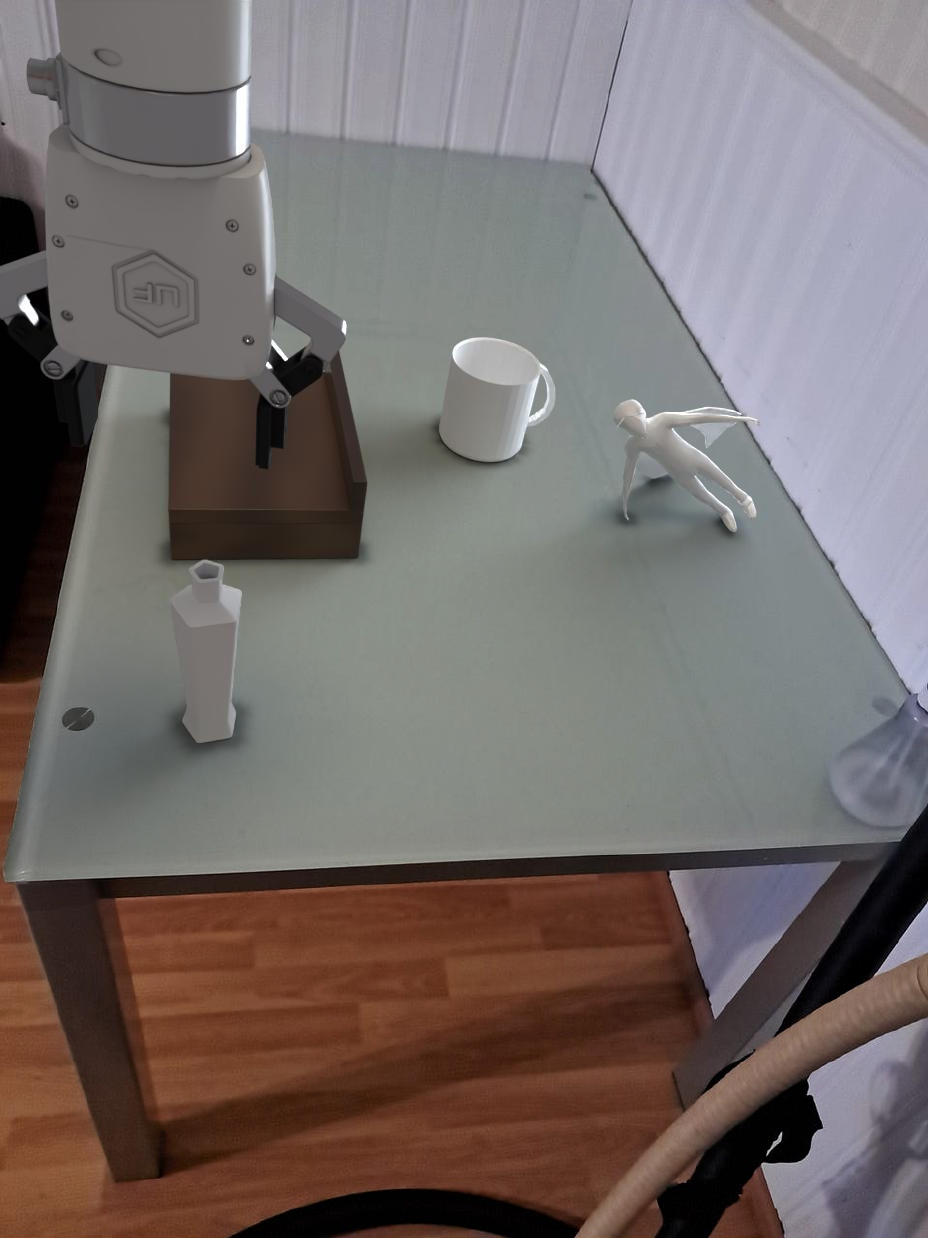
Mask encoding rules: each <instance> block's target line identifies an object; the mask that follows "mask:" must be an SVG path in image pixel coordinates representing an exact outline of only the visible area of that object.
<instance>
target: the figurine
mask: <svg viewBox="0 0 928 1238" xmlns="http://www.w3.org/2000/svg"><path fill="white" fill-rule="evenodd" d="M612 421H613V422H614V424H615V425H616V428H615V430H614V432H613V433H612V435H611V436H610V438H609V439H608V441H610V440H611V439H612V438H613V436H614V434H615V433H616V431H617V430H618V428H621V429H623V430H625V431H626V432H627V433H629V434H630V435H629V436H628V438H627V439H626V441H625V445H624V454H625V462H624V469H623V475H622V510H623V516H624V518H625V519H626V520H627V521H630V519H629V515H628V514H627V511H628V510H627V506H628V499H629V496H630V494H631V489H632V486H633V482H634V479H635V472H636V470H638V471H639V472H640V473H641V474H643V475H644V476H645V477H647V478H649V479H652V480H656V479H659V478H662V477H664V476H667V475H669V477H670V478H671V479H672V480H673V481H674V482H675V483H677V484H678V485H679V486H680V487H682V488H683V489H685V490H686V491H687V492H688V493H689V494H691V496H693V497H694V498H695V499H696V500H698V501H700V502H701V503H704V504H705V505H707V506H709V507H710V508H711V509H712V510H714V511H715V512H716V513H717V514H718V516H719V517H720V518H721V519H722V522H723V524H724V525H725V527H726V528H727V529H728V530H729V531H730V532H732V533H735V532H737V530H738V529H737V522H736V518H735V517H734V513H733V511H732V510H731V508H729V507H728V506H726V505H725V504H724V503H723V502H721V501H720V500H718V498H717V497H716V496H715V495H713V493H711V492H710V491H709V490H707V488H706V487H705V486H704V484H703V483H702V482H701V481H700V479H699V478H698V477H697V475H699V476H701V477H702V478H705V479H706V480H708V481H710V482H711V483H713V484H715V485H716V486H717V487H719V488H720V489H722V490H723V491H725V492H727V493H728V494H729V495H730V496H732V497H733V498H734V499H735V500H736V502H738V503H739V505H740V507H741V508H742V510H743V512H744V513H745V514H746V515H747V517H748V519H750V520H755V519H756V517H757V509H756V507H755V504H754V501H753V498H752V497H751V496H750V495H748V494H747V492H745V491H743V490H742V489H741V488H739V487H738V486H737V485H736V484H735V483H734V482H733V481H732V480H731V478H730V477H728V475H726V474H725V473H724V472H723V471H722V470H721V469H720V468H719V467H718V466H717V464H715V462H714V461H712V460H711V459H710V458H709V457H708V456H707V455H706V454H705V453H704V452H702V451H700V450H699V449H698V448H696V447H695V446H693V445H692V444H690V443H689V442H687V441H686V440H685V439H684V438H682V437H681V435H679V434H678V433H677V432H676V430H675V428H676V429H677V428H683V427H689V426H690V427H693V428H694V429H696V430H698V431H699V432H700V433H701V434H702V435H704V444H705V448H706V449H707V448H708V447H710V446H711V445H712V444H713V443H714V442H715V441H717V439H718V438H719V437H720V436H721V435H722V434H723V433H724V432H725V431H726V430H728V429H729V428H731V427H733V426H737V424H738V423H739V422H744V423H751V424H755V425H757V426H760V427H761V424H760V420H758V419H757V418H755V417H750V416H742V412H738V411H737V410H733V409H728V408H723V407H714V406H713V407H712V406H704V407H701V408H696V409H691V410H686V411H681V412H678V411H677V412H674V411H673V412H671V411H664V412H659V413H657V414H655V415H653V416H651V417H647V413H646V410H645V409H644V408H643V406H642V405H641V403H640V402H639V401H637V400H636V399H629V400H625V401H622V402H620V403H619V404H618V406H617V407H616V408H615V411H613V414H612ZM696 474H697V475H696Z"/></svg>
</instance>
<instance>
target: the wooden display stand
mask: <svg viewBox="0 0 928 1238" xmlns="http://www.w3.org/2000/svg"><path fill="white" fill-rule="evenodd" d="M342 361H343V360H342V357H341V352H340V350H339V351H338V352H337V354H336V355H335V357H334V358H333V359H332V361H331V362H330V363H329V364H328V365H327V366H326V368H325V369H324V371H323V374H322V376H321V377H320V378H319V379H318V380H317V381H315V382H314V383H312V384H311V385H310V386H308V387H307V388H305V389H304V390H302V391H301V392H299V393H298V394H297V395H295V396H294V397H292V398H291V400H290V403H289V405H288V409H287V429H286V440H285V446H284V449H279V448H273V450H272V455H271V460H270V465H269V469H260V468H259V466H256V465H255V460H256V413H257V405H258V400H259V396H260V392H259V390H258V389H257V388H256V387H255V386H254V385H253V383H252V382H251V381H250V380H249V379H246V380H223V379H214V378H205V377H197V376H189V375H181V374H174V373H169V417H168V418H169V421H168V422H169V424H168V427H169V429H168V432H169V433H168V502H167V503H168V505H167V507H168V523H169V524H168V526H169V527H168V528H169V545H170V546H169V547H170V559H171V560H248V559H249V560H255V559H256V560H265V559H266V560H267V559H268V560H269V559H273V560H274V559H276V560H277V559H278V560H279V559H283V560H284V559H358V558H359V556H360V555H359V554H360V547H361V537H362V532H363V531H362V530H363V522H364V514H365V507H366V498H367V490H368V478H367V473H366V472H367V471H366V469H365V463H364V459H363V454H362V450H361V445H360V442H359V436H358V431H357V427H356V422H355V418H354V412H353V408H352V404H351V399H350V395H349V389H348V385H347V381H346V376H345V372H344V367H343V362H342Z"/></svg>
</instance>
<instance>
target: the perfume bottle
mask: <svg viewBox="0 0 928 1238" xmlns="http://www.w3.org/2000/svg"><path fill="white" fill-rule="evenodd" d="M224 571H225V566H224V565H223V564H221V563H218V562H215V561H212V560H210V559H201V560H200V561H199V562H197V563H195V564H194V565H192V566H191V567H190V568H188V572H189V574H190V576H191V577H190V578H191V583H190V584H188V585H187V586H186V587H184V588H183V589H181V590H180V591H179V592H177V593H176V594H174V595H173V596H171V597H170V598H169V606H170V612H171V618H172V625H173V631H174V637H175V643H176V649H177V656H178V661H179V662H178V663H179V667H180V673H181V679H182V686H183V693H184V697H185V704H186V709H185V712H184V715H183V717H182V720H181V722H182V724H183V725H184V728H186V730H187V731H188V733H189V734H190V735H191V737H192V738H193V740H194V741H195V742H196V743H197V744H204V743H208V742H215V741H221V740H227V739H231V738H232V737H233V735H234V730H235V729H234V728H235V723H236V716H237V711H236V708H235V705H234V704H233V702H232V699H233V689H234V679H235V668H236V658H237V647H238V639H239V638H238V637H239V627H240V626H239V625H240V618H241V617H240V616H241V608H242V607H241V606H242V597H243V591H242V590H241V589H239V588H236V587H233V586H230V585H227V584H224V583H223V576H224Z"/></svg>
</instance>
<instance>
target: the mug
mask: <svg viewBox="0 0 928 1238" xmlns="http://www.w3.org/2000/svg"><path fill="white" fill-rule="evenodd" d="M451 353H452V354H451V359H450V365H449V369H448V374H447V381H446V386H445V392H444V397H443V402H442V408H441V414H440V420H439V425H438V433H439V435H440V438H441V440H442V442H443V443H444V445H445V446H446V447H448V449H449V450H451V451H452V452H454V453H455V454H457V455H460V456H461V457H463V458H466V459H468V460H473V461H476V462H484V463H496V462H502V461H505V460H506V461H507V460H509V459H511V458H512V457H514V456H515V455H516V454H517V453H519V451H520V450H521V448H522V447H523V442H524V438H525V435H526V430H527V428H529V427H530V428H532V427H535V426H536V425H538V424H540V423H542V422H543V421H545V420H546V418H548V417H550V415H551V414H552V412H553V408H554V407H555V404H556V386H555V382H554V380H553V378H552V376H551V373H550V371H549V370H548V368H547V367H546V366H545V365H544V364H542V363H540V361H539V359H538V358H537V357H536V356H535V354H533V353H532V352H530V350H528V349H526V348H525V347H523V346H521V345H519V344H517V343H515V342H512V341H508V340H505V339H500V338H496V337H495V338H494V337H483V336H482V337H481V336H480V337H472V338H467V339H464V340H462V341H460V342H459V343H457V344H456V345H455V346H454V347H453V350H452V352H451ZM540 375H541V376H542V377H543V379H544V380H545V385H546V394H547V396H546V400H545V402H544V406H543V407H542V408H541V409H539V410H538V411H536V412H535V413H534V414H532V415H530V414H531V411H532V407H533V403H534V399H535V396H536V392H537V387H538V384H539V380H540Z"/></svg>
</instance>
